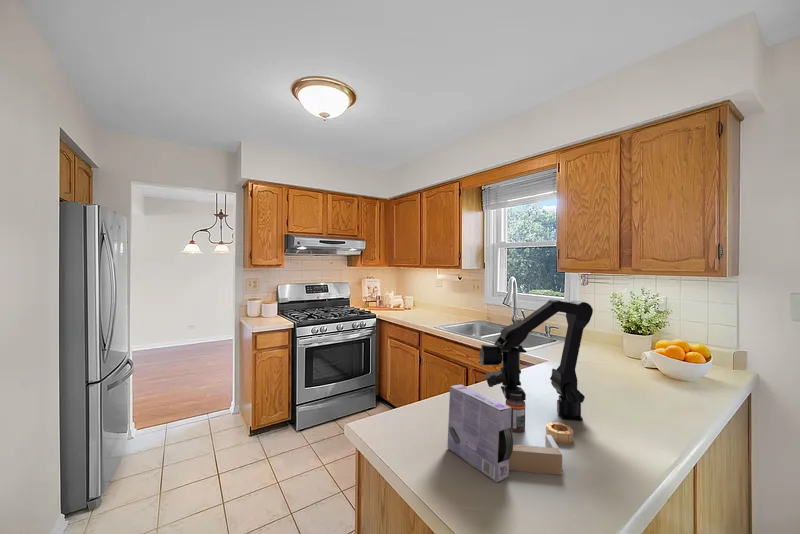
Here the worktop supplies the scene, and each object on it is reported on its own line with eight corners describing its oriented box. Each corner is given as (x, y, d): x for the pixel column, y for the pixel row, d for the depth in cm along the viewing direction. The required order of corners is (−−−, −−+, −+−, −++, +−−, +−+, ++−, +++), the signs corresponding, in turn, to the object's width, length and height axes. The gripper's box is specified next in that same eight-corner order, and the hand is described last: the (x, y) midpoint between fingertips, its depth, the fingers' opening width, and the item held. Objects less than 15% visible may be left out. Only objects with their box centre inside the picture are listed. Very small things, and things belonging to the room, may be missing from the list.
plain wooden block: (551, 447, 96) (551, 429, 96) (566, 475, 83) (566, 455, 83) (492, 442, 98) (493, 425, 98) (498, 469, 85) (499, 449, 85)
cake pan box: (514, 479, 81) (514, 406, 81) (500, 486, 78) (500, 411, 78) (459, 443, 97) (459, 382, 97) (446, 449, 95) (446, 386, 95)
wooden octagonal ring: (567, 433, 104) (567, 423, 104) (575, 444, 97) (575, 434, 97) (544, 431, 105) (544, 421, 105) (550, 442, 98) (550, 432, 98)
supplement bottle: (502, 424, 109) (502, 389, 109) (520, 423, 110) (520, 389, 110) (510, 433, 103) (510, 396, 103) (528, 432, 104) (528, 396, 104)
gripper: (484, 356, 126) (484, 398, 126) (489, 372, 107) (489, 421, 107) (515, 358, 124) (515, 400, 124) (526, 374, 105) (526, 423, 105)
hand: (510, 410), depth 115 cm, fingers closed
